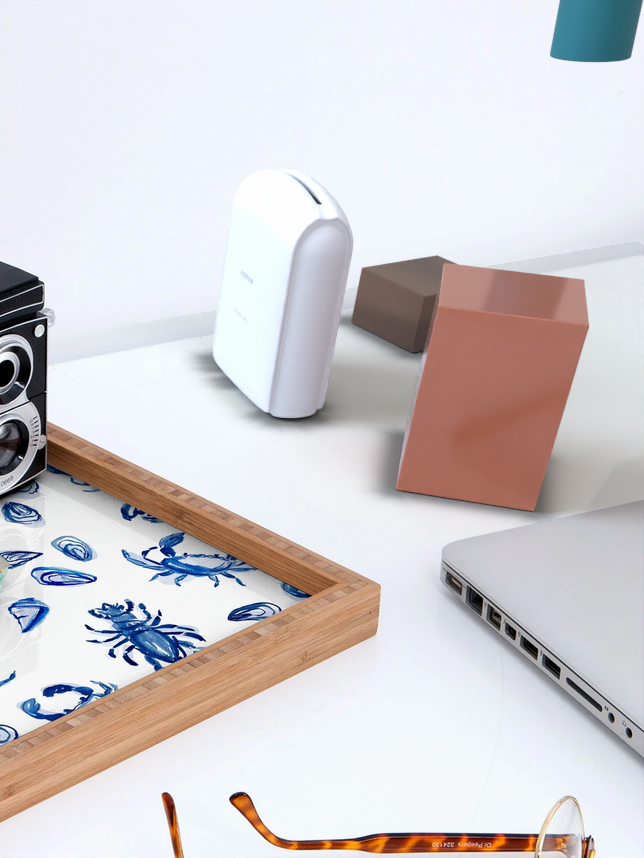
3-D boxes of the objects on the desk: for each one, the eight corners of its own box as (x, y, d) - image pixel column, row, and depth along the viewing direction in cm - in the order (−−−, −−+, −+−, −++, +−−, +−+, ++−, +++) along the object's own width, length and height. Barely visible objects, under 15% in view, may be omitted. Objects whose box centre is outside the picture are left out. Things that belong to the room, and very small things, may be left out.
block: (412, 353, 93) (425, 296, 91) (350, 322, 98) (361, 267, 95) (488, 338, 96) (502, 282, 94) (424, 308, 100) (437, 254, 98)
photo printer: (201, 356, 92) (229, 152, 85) (265, 352, 93) (298, 150, 86) (261, 424, 84) (298, 204, 77) (331, 419, 85) (374, 202, 77)
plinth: (533, 457, 81) (584, 279, 75) (534, 512, 76) (589, 325, 70) (403, 437, 83) (444, 262, 77) (395, 490, 77) (438, 305, 72)
